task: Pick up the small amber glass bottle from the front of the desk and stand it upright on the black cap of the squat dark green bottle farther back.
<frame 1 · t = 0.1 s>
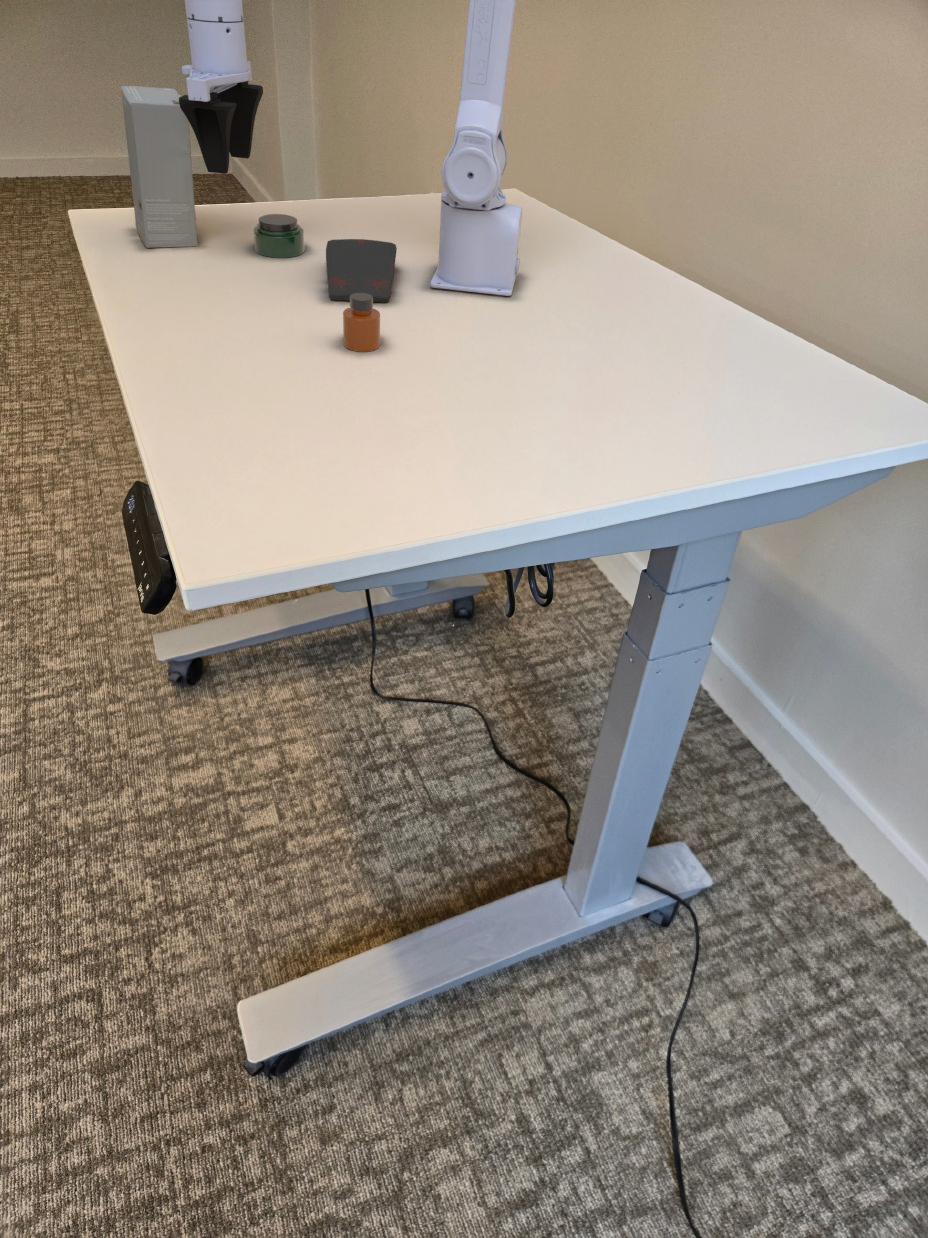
hand: (229, 164, 98), 10 cm above the table, tool pointing down, fingers open, 7 cm apart
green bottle: (280, 250, 107), on the table
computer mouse: (361, 283, 101), on the table
cosmetic box: (170, 239, 108), on the table
amber bottle: (361, 344, 87), on the table
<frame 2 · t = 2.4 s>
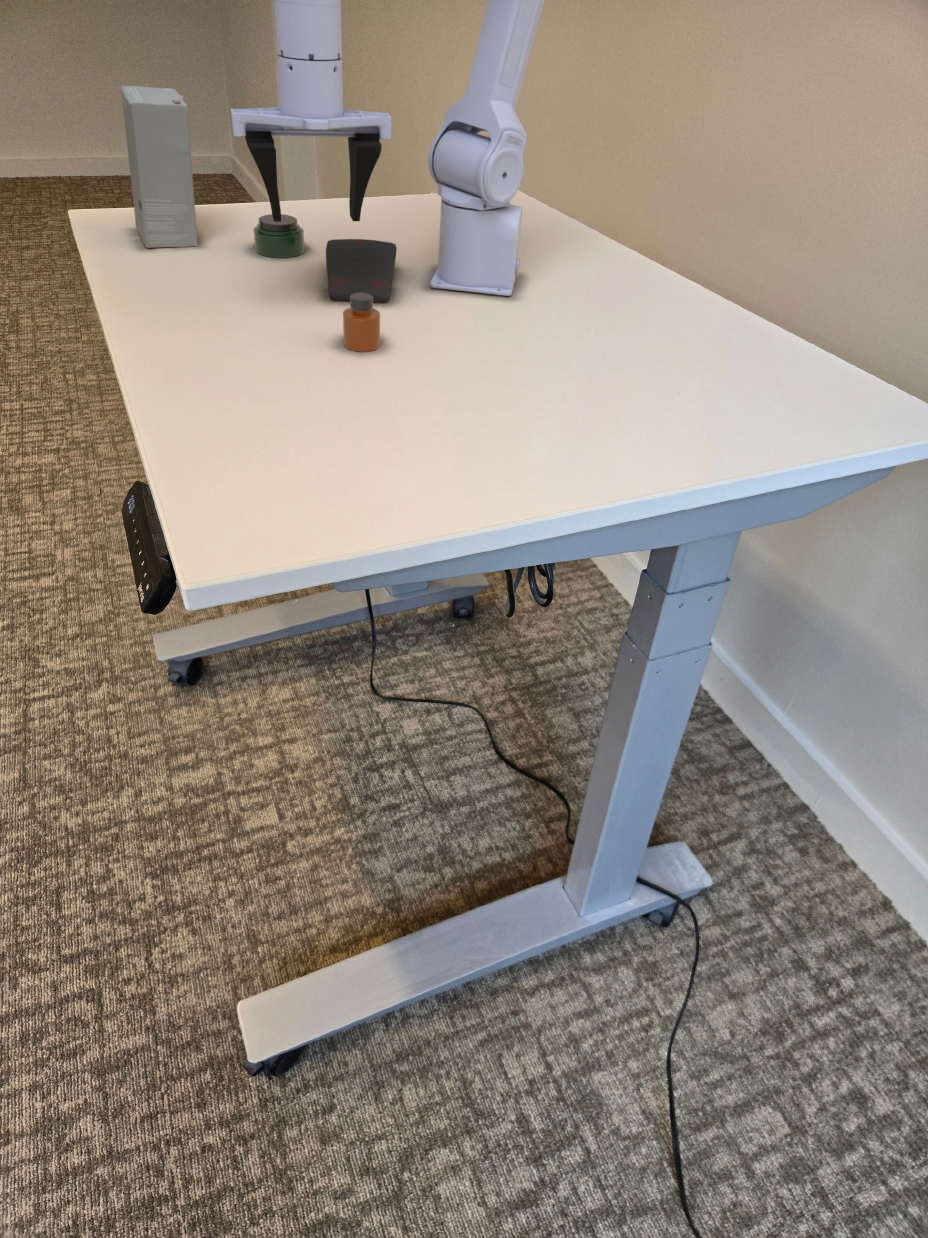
hand: (316, 218, 86), 10 cm above the table, tool pointing down, fingers open, 7 cm apart
nothing on the table moved.
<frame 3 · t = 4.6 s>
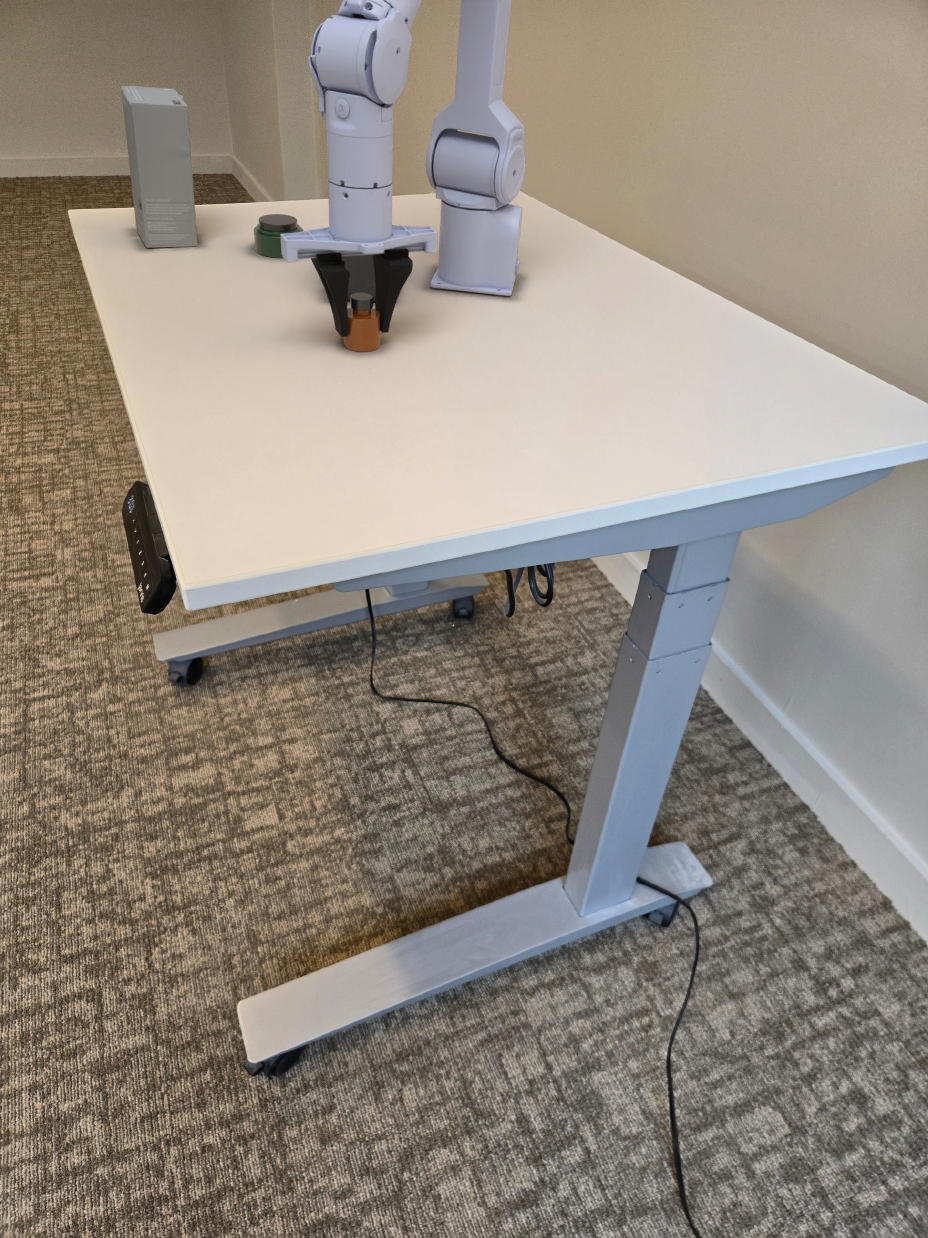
hand: (361, 330, 86), 1 cm above the table, tool pointing down, fingers closed on amber bottle, 3 cm apart
amber bottle: (362, 344, 87), on the table, touching gripper
everything else where it was.
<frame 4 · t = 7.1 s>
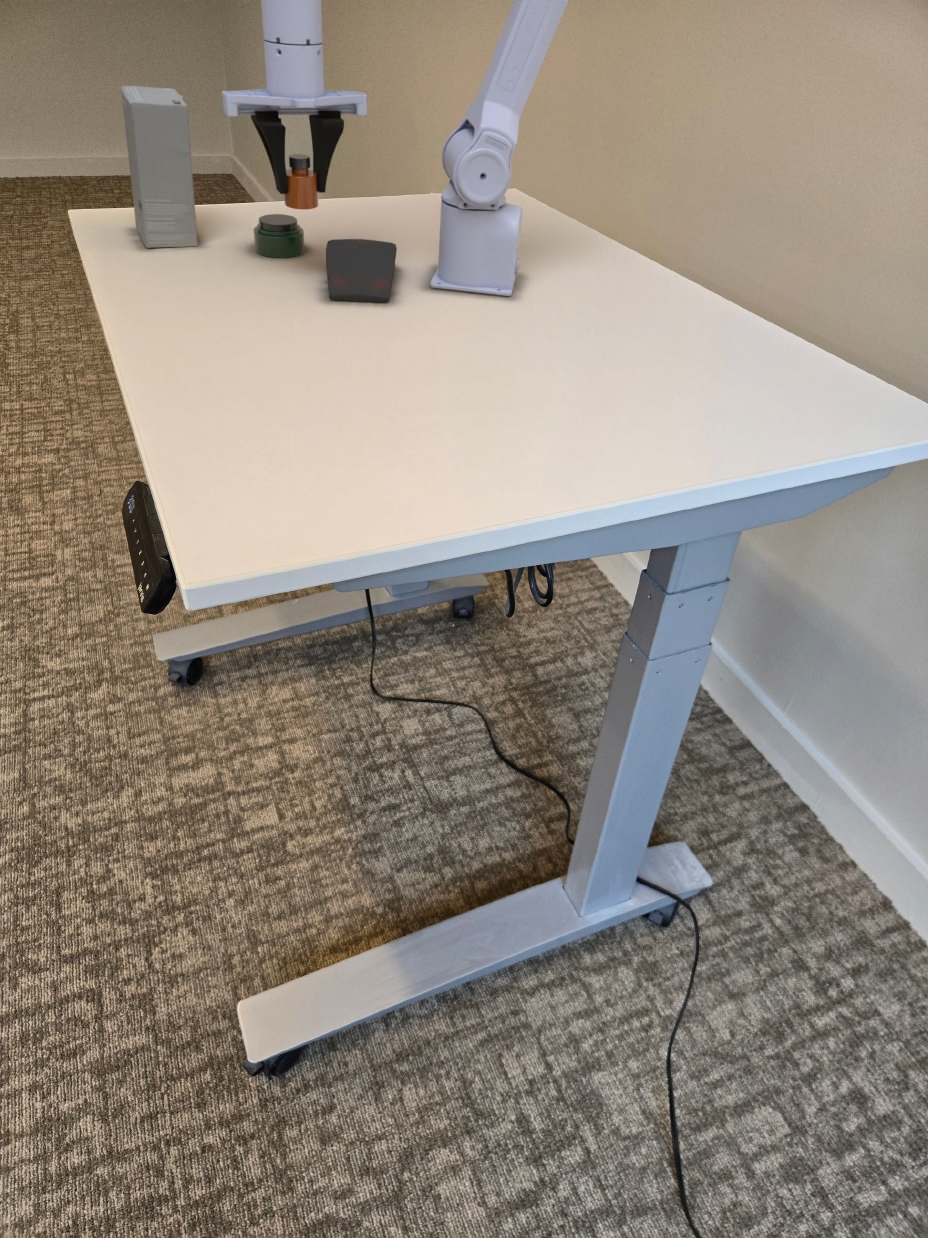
hand: (300, 190, 94), 9 cm above the table, tool pointing down, fingers closed on amber bottle, 3 cm apart
amber bottle: (301, 204, 95), point 8 cm above the table, touching gripper
everything else where it was.
when the fingers open (5 cm above the table, at t = 9.6 s): amber bottle stays where it is, resting on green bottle.
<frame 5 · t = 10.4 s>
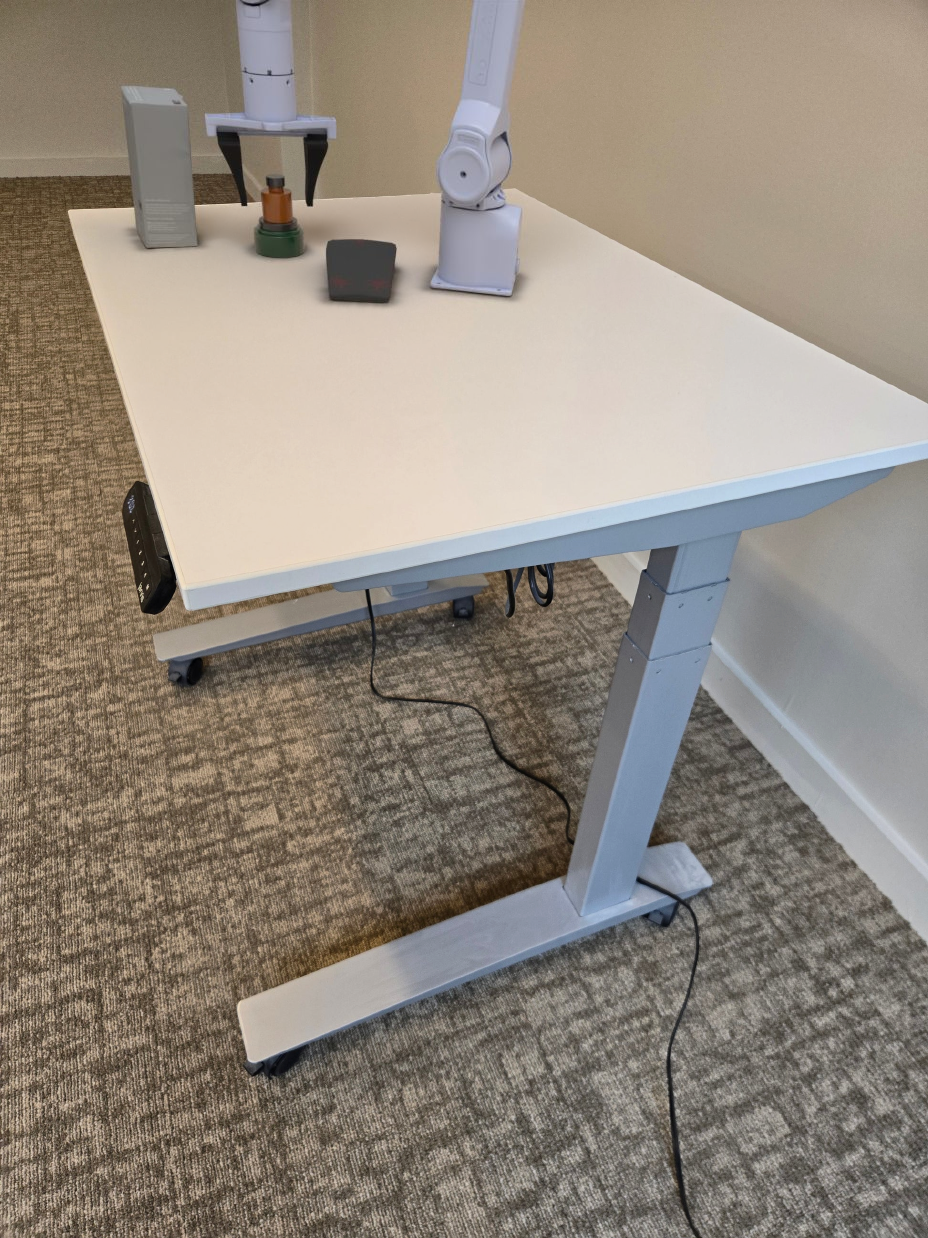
hand: (276, 204, 104), 5 cm above the table, tool pointing down, fingers open, 7 cm apart
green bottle: (280, 250, 107), on the table, touching amber bottle
amber bottle: (278, 219, 105), point 4 cm above the table, touching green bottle
everything else where it was.
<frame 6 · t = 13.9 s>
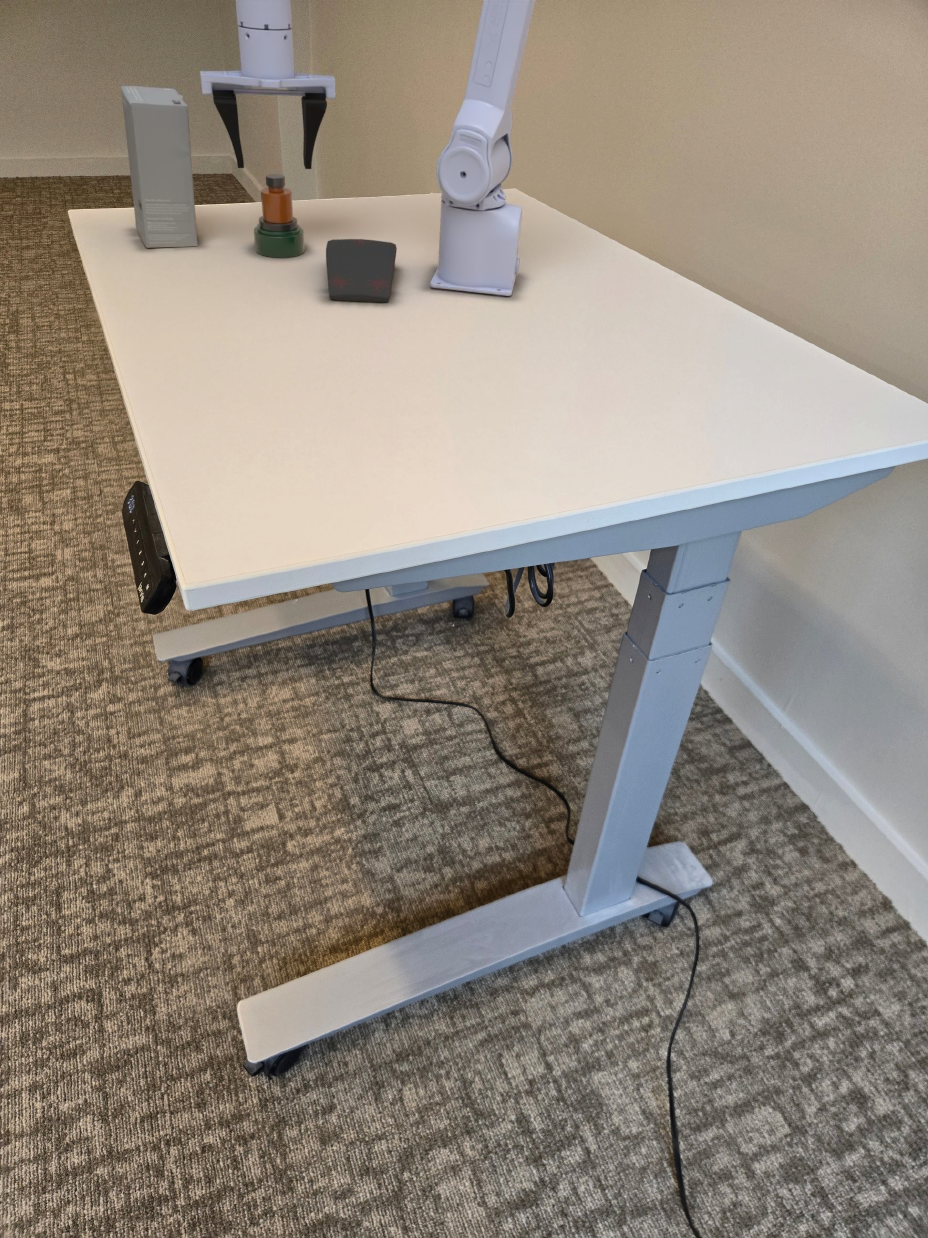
hand: (274, 166, 101), 9 cm above the table, tool pointing down, fingers open, 7 cm apart
nothing on the table moved.
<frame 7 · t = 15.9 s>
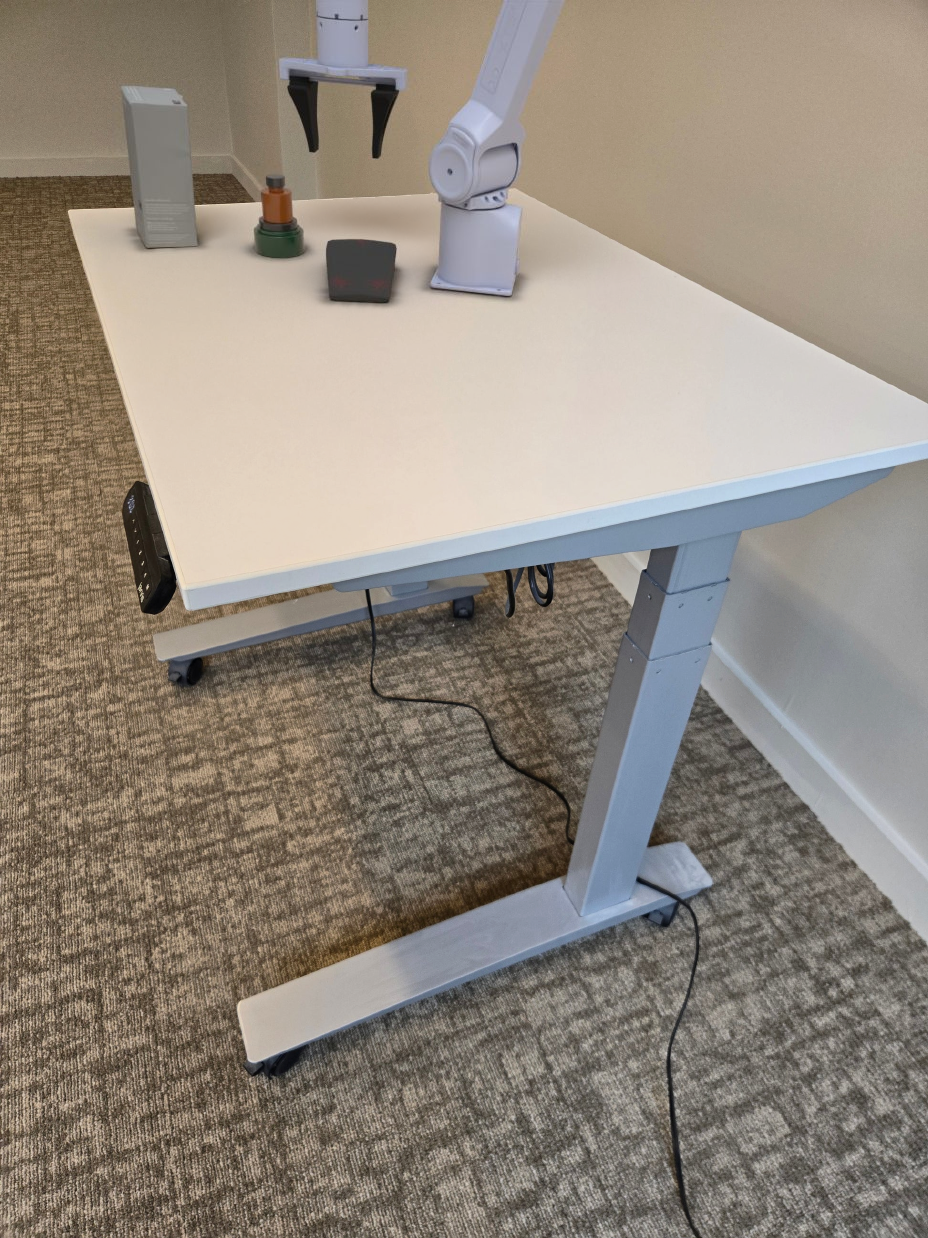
hand: (345, 153, 105), 10 cm above the table, tool pointing down, fingers open, 7 cm apart
nothing on the table moved.
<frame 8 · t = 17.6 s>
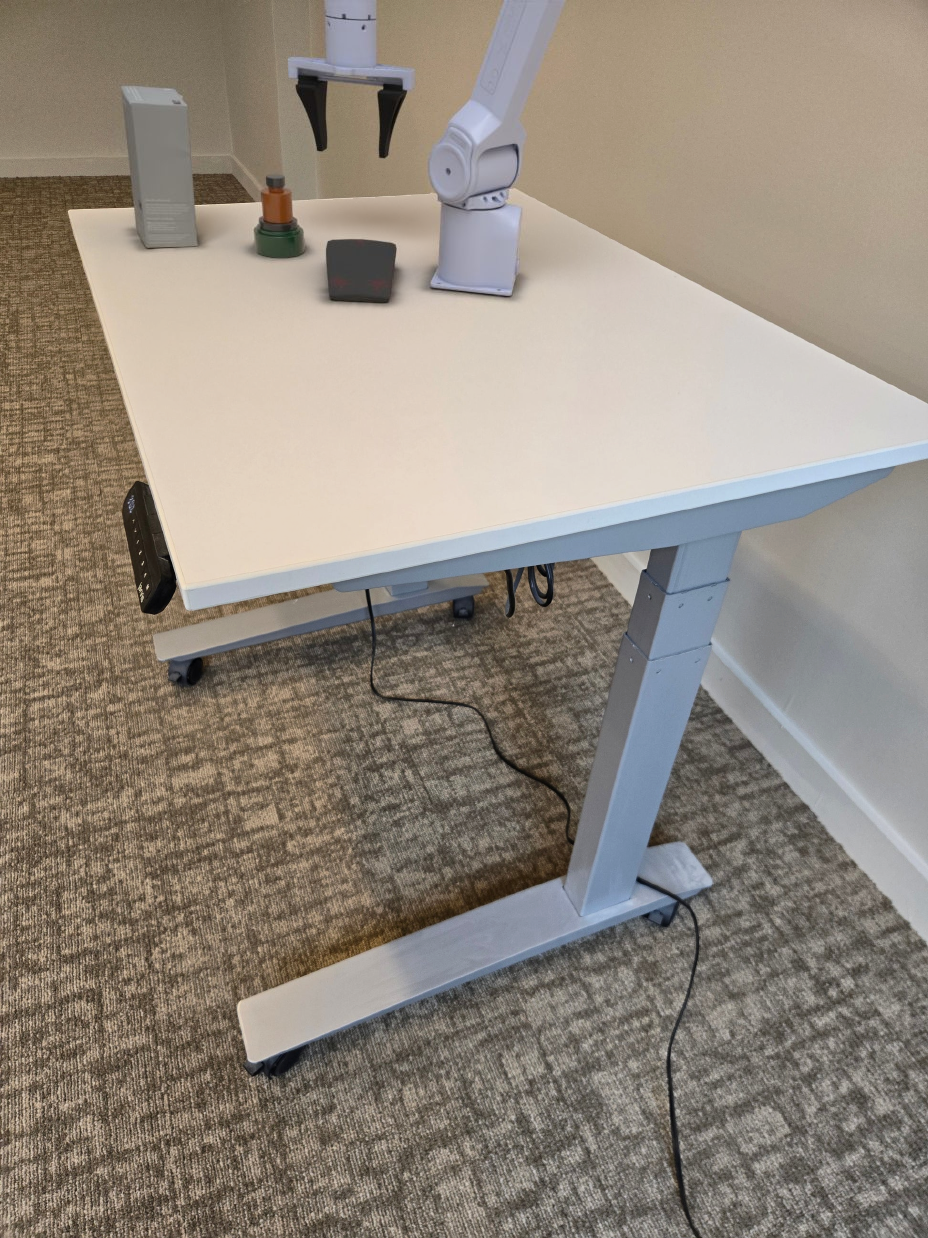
hand: (352, 152, 105), 10 cm above the table, tool pointing down, fingers open, 7 cm apart
nothing on the table moved.
at the end: amber bottle 0.0 cm off-centre on the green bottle, point 3.6 cm above the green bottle's base; amber bottle tilted 0°; the gripper is holding nothing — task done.
